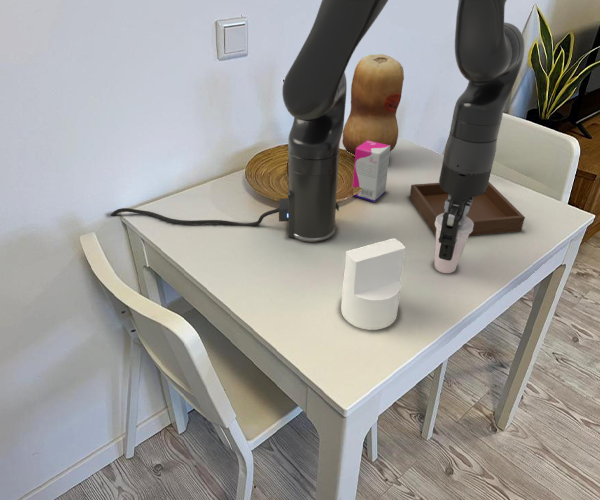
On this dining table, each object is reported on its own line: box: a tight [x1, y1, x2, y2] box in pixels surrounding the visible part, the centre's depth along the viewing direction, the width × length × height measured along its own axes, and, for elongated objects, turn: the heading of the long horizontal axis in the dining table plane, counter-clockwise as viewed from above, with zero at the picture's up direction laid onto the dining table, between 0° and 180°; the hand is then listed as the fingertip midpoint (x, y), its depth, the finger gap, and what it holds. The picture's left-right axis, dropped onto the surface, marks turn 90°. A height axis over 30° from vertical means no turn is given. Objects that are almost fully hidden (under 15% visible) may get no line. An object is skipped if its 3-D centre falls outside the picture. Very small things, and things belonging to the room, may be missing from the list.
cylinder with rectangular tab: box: [340, 237, 406, 331], centre depth 79 cm, size 9×9×12 cm
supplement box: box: [352, 140, 391, 203], centre depth 111 cm, size 6×6×12 cm
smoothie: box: [433, 213, 474, 274], centre depth 89 cm, size 6×6×14 cm
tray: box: [409, 181, 526, 237], centre depth 107 cm, size 18×17×3 cm
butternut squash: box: [341, 53, 405, 155], centre depth 123 cm, size 14×13×25 cm
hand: (449, 248), depth 90 cm, fingers closed on smoothie, 6 cm apart
